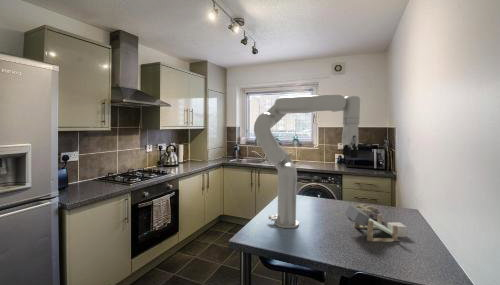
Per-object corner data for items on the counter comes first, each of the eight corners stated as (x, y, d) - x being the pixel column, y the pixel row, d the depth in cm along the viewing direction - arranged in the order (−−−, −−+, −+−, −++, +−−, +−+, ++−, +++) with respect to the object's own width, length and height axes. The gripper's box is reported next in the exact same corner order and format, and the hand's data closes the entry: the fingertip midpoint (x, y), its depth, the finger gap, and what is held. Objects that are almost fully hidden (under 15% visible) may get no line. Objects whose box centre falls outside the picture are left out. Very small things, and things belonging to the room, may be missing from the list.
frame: (368, 241, 112) (368, 221, 112) (354, 227, 127) (355, 210, 127) (397, 241, 112) (398, 221, 111) (380, 227, 127) (381, 210, 127)
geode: (349, 221, 149) (352, 226, 135) (343, 206, 151) (345, 209, 137) (378, 213, 145) (384, 218, 131) (372, 197, 147) (377, 200, 133)
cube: (393, 226, 117) (406, 226, 117) (387, 222, 122) (400, 222, 122) (392, 236, 117) (405, 237, 117) (387, 232, 122) (399, 232, 122)
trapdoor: (354, 221, 113) (359, 212, 113) (344, 212, 125) (349, 203, 125) (393, 242, 114) (398, 232, 113) (380, 231, 126) (385, 222, 125)
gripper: (337, 122, 132) (336, 154, 133) (350, 121, 115) (348, 158, 116) (351, 122, 132) (350, 154, 133) (366, 121, 115) (365, 159, 116)
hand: (349, 156), depth 124 cm, fingers open, 9 cm apart
